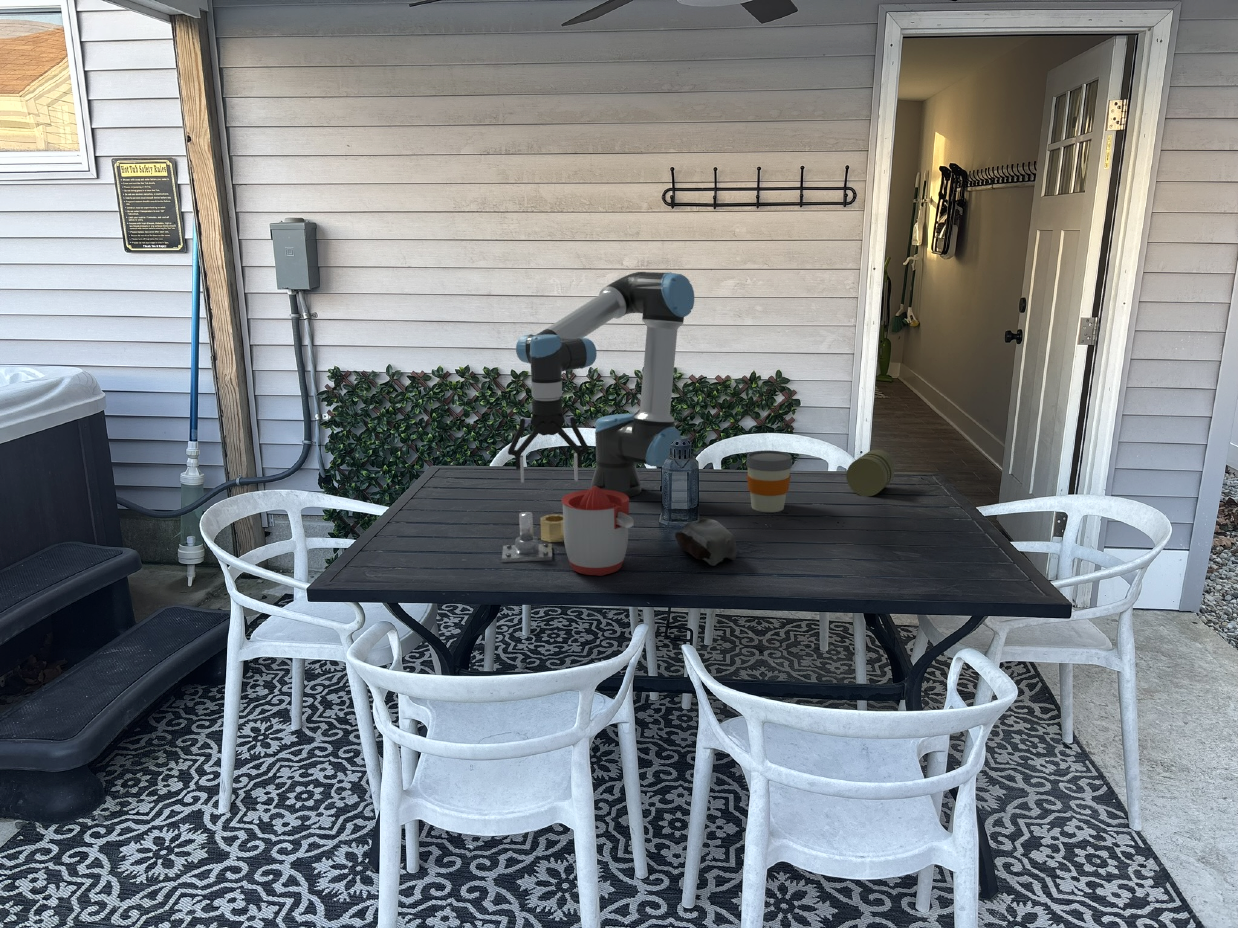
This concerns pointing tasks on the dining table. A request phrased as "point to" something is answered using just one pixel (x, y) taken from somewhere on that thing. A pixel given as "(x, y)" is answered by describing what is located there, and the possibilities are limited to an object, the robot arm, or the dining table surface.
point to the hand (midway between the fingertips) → (549, 480)
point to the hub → (552, 528)
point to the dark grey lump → (707, 541)
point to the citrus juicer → (596, 530)
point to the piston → (871, 472)
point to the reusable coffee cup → (768, 479)
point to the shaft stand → (526, 544)
